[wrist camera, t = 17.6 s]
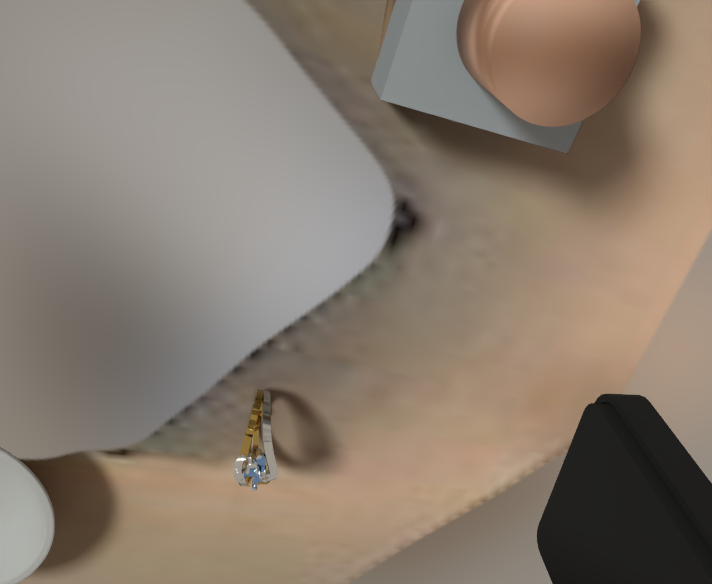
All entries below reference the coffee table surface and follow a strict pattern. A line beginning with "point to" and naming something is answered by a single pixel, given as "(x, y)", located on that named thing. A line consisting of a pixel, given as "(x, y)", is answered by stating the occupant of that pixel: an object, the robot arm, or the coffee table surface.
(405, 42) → the upper slab
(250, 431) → the ring
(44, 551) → the dish
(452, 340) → the coffee table surface
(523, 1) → the drum
